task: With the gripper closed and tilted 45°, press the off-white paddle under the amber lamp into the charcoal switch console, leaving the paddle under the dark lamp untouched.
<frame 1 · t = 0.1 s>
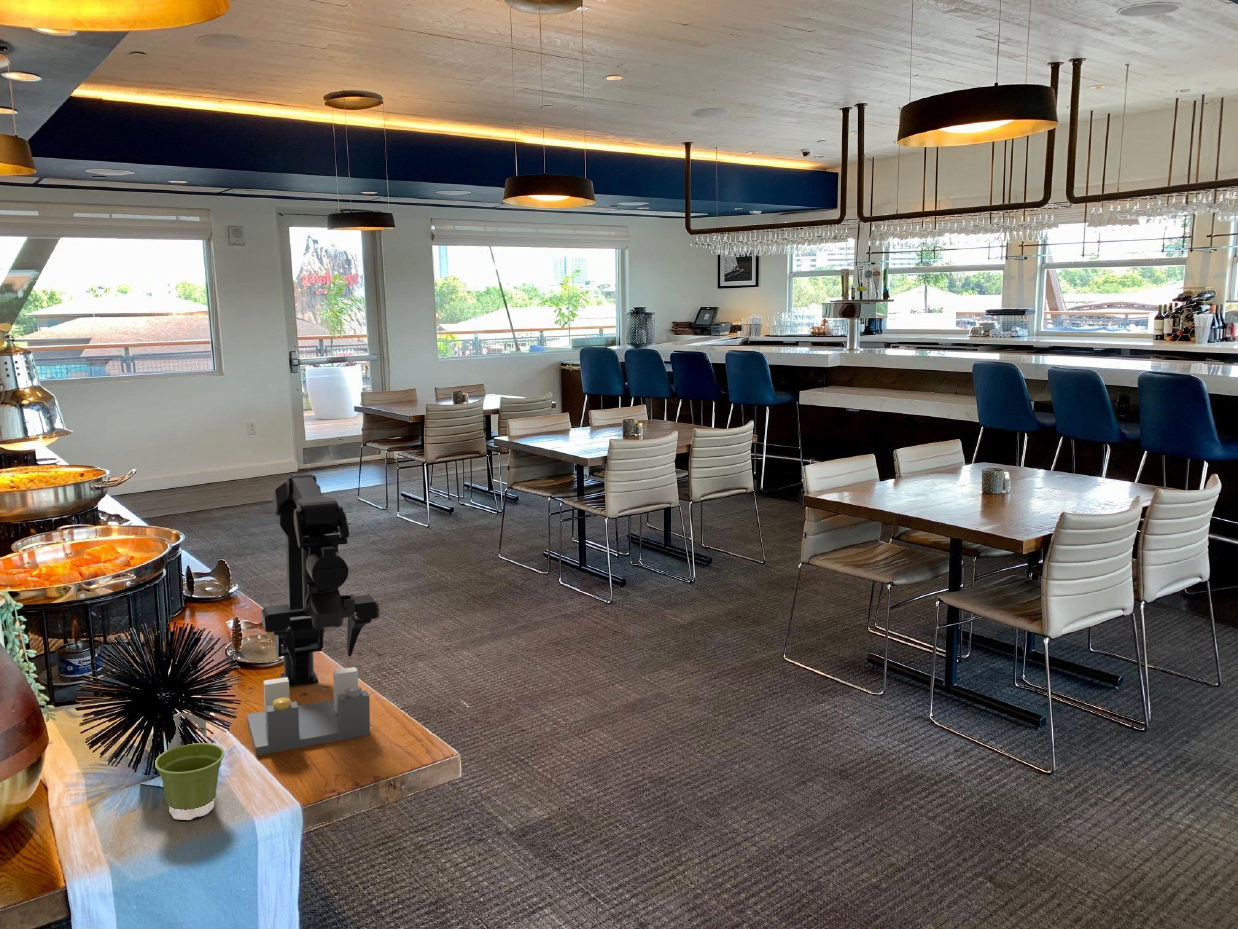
hand: (322, 660, 159), 15 cm above the table, tool pointing down, fingers open, 9 cm apart
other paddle: (345, 690, 168), point 6 cm above the table, slide at 0.0 cm
console: (307, 728, 165), on the table
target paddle: (276, 701, 162), point 6 cm above the table, slide at 0.0 cm
plant pot: (192, 812, 137), on the table
supplement box: (174, 778, 147), on the table
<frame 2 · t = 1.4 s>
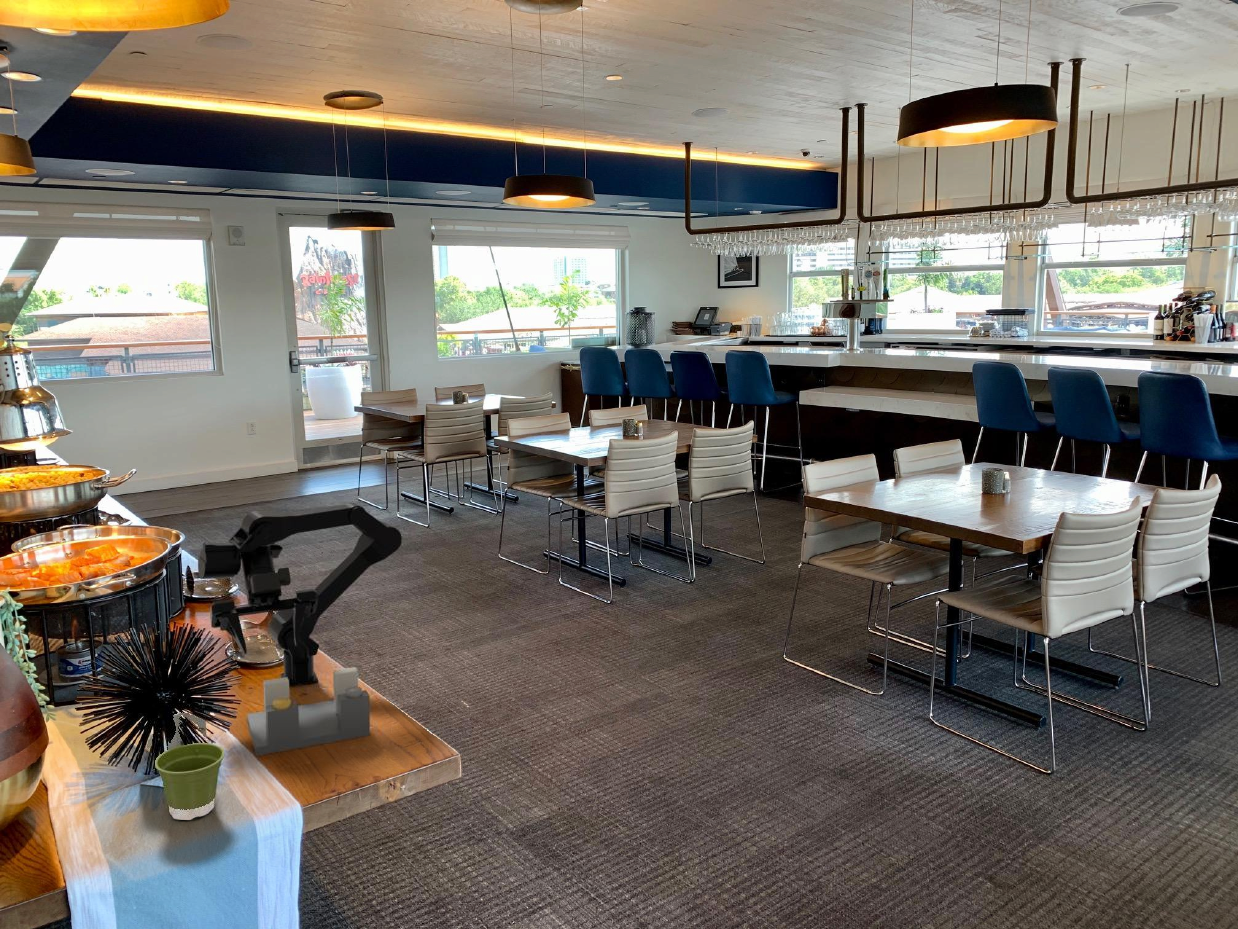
hand: (271, 649, 168), 13 cm above the table, tool tilted 45°, fingers open, 9 cm apart
nothing on the table moved.
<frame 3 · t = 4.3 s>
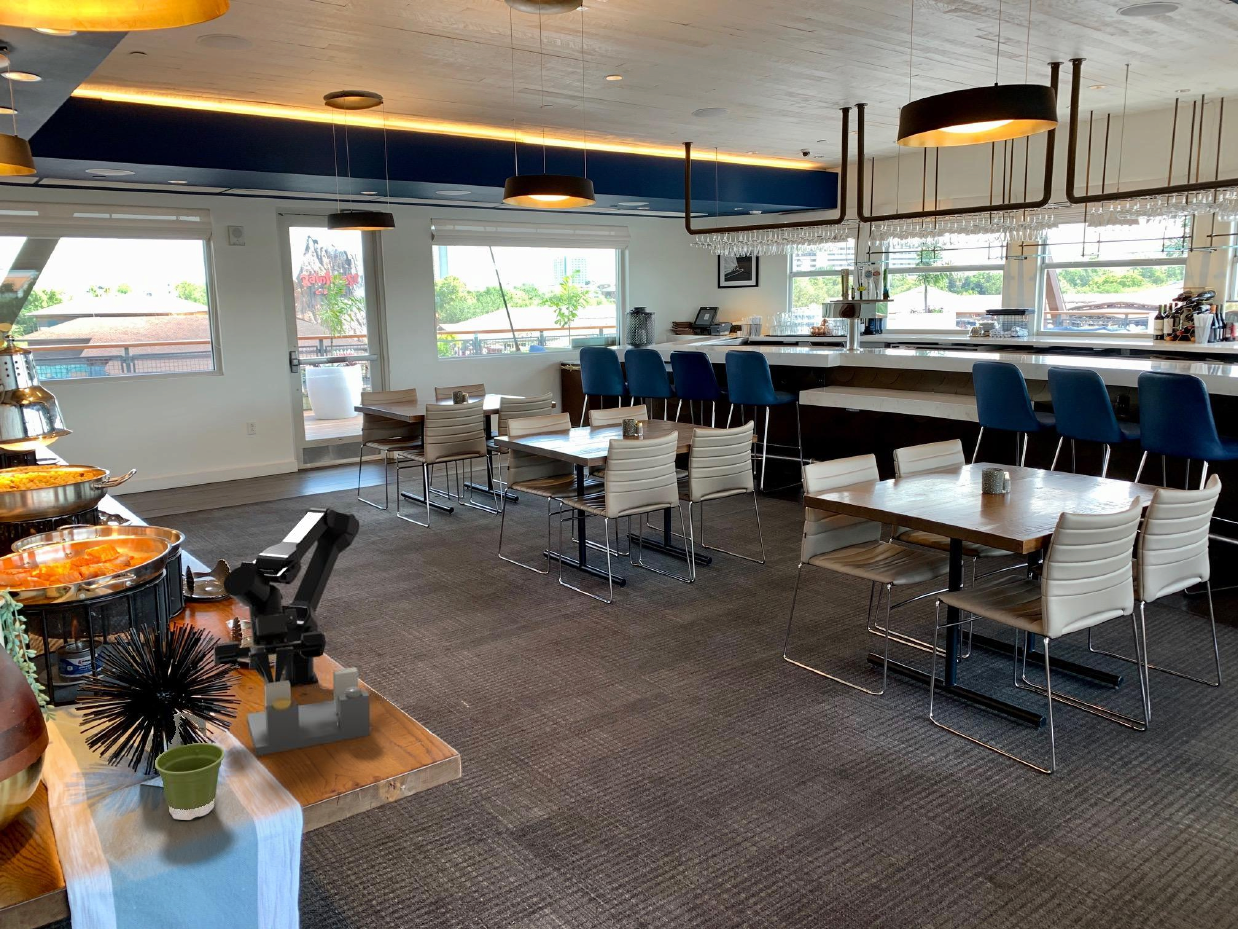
hand: (275, 694, 162), 7 cm above the table, tool tilted 45°, fingers closed, pressing on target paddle
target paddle: (278, 704, 161), point 6 cm above the table, slide at 1.5 cm, touching gripper
everything else where it was.
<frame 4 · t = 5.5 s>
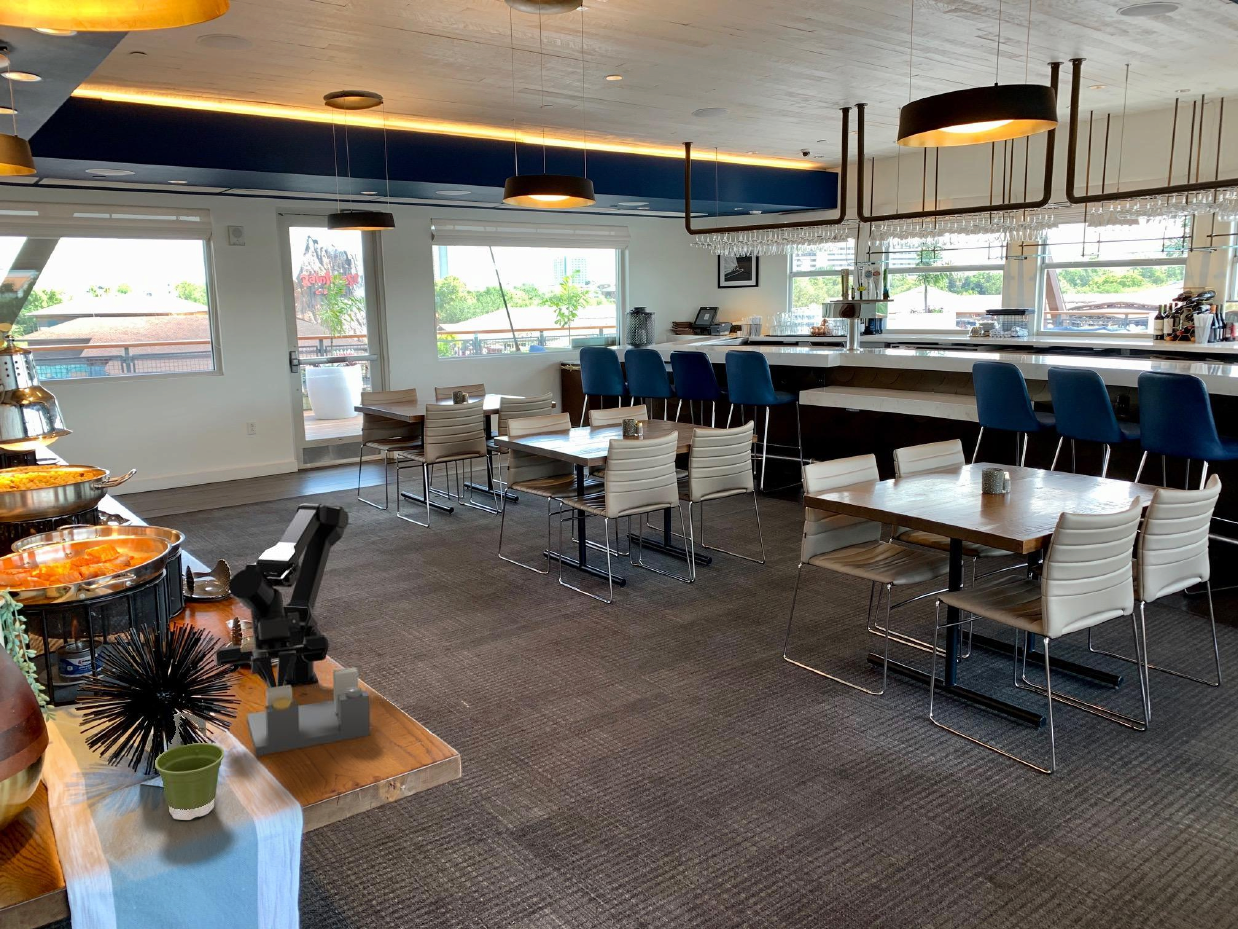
hand: (278, 698, 160), 7 cm above the table, tool tilted 45°, fingers closed
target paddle: (279, 709, 159), point 6 cm above the table, slide at 3.7 cm
everything else where it was.
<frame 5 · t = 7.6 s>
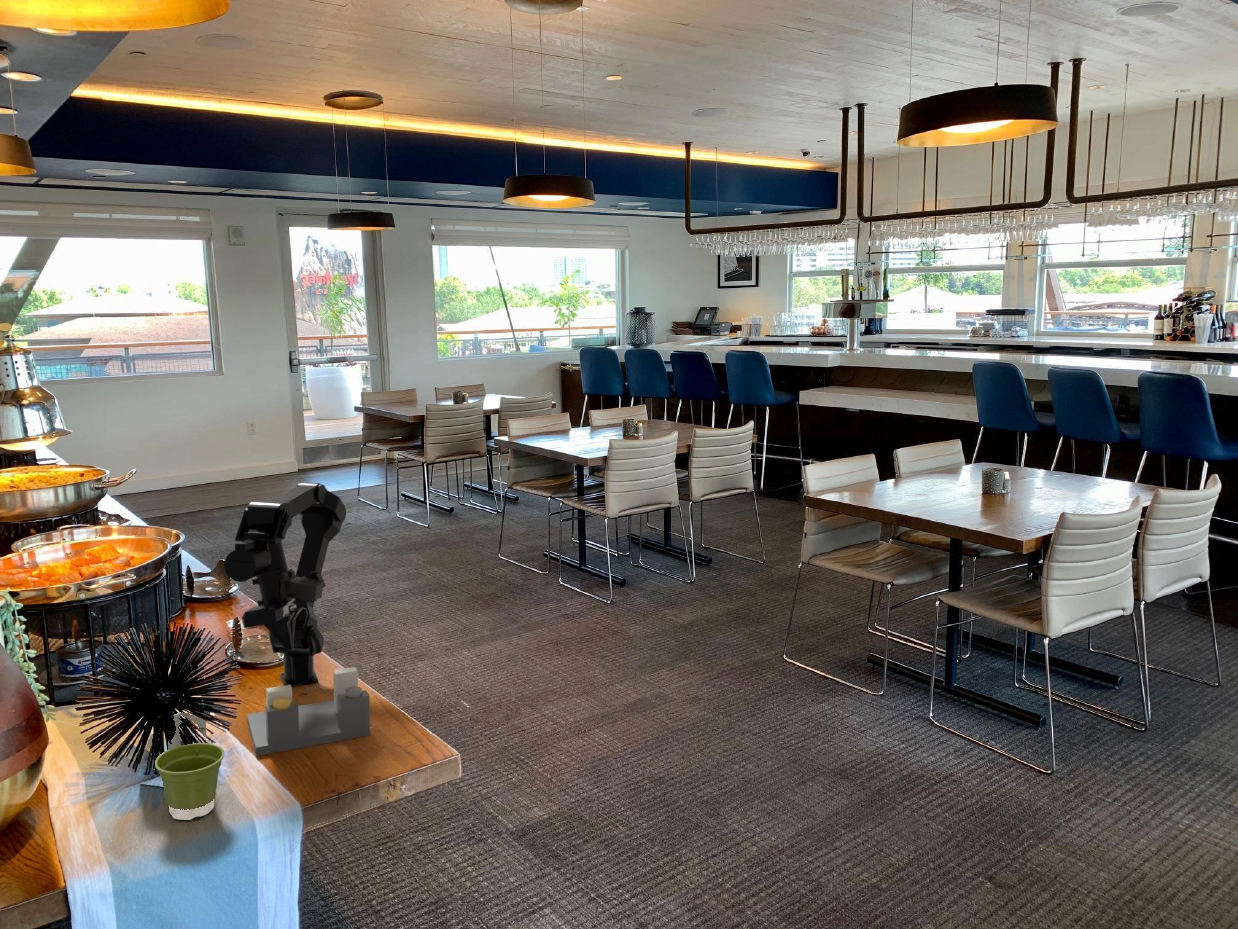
hand: (290, 649, 171), 12 cm above the table, tool pointing down, fingers closed
nothing on the table moved.
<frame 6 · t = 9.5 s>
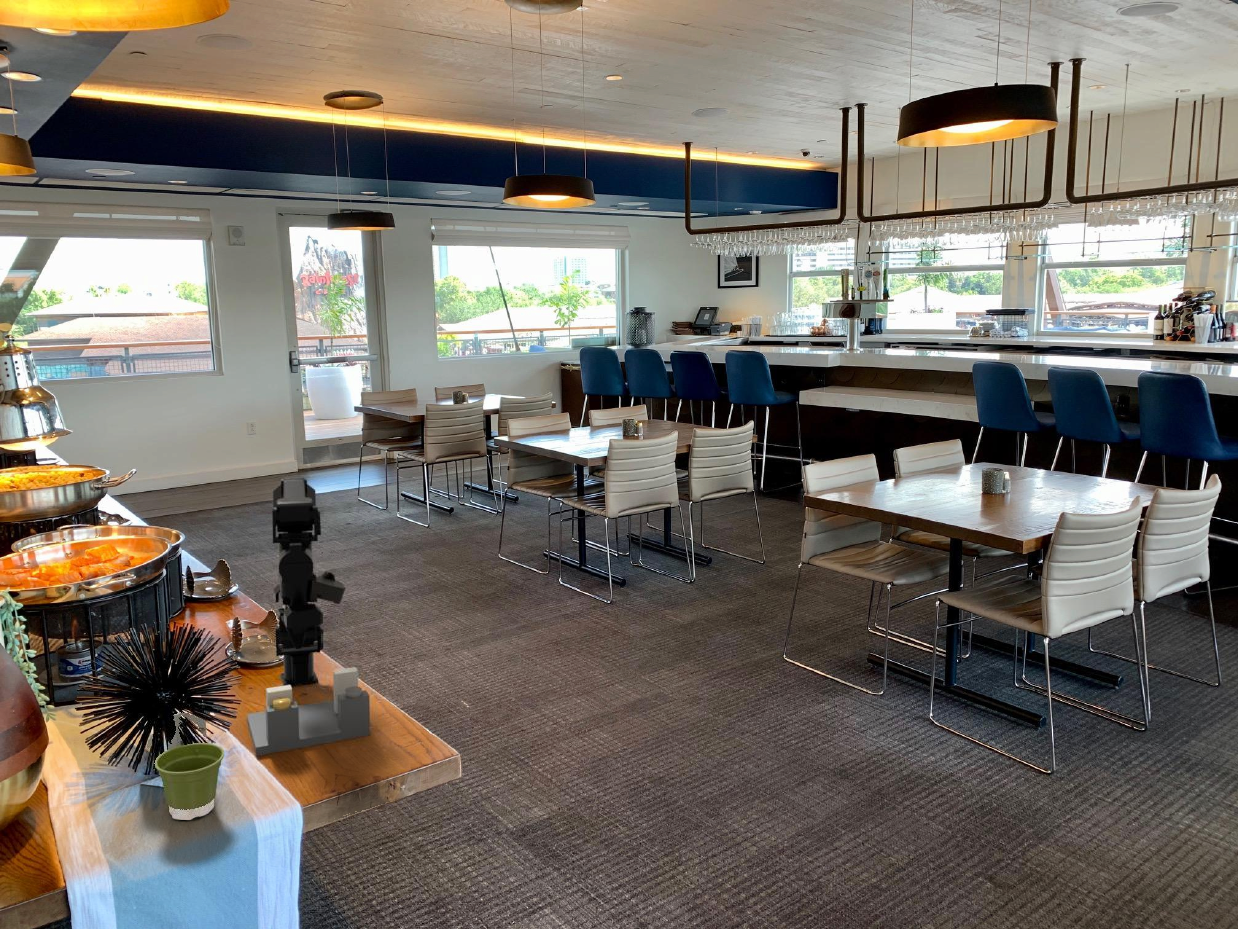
hand: (298, 648, 171), 12 cm above the table, tool pointing down, fingers closed
nothing on the table moved.
at the end: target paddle slide at 3.7 cm; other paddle slide at 0.0 cm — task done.
